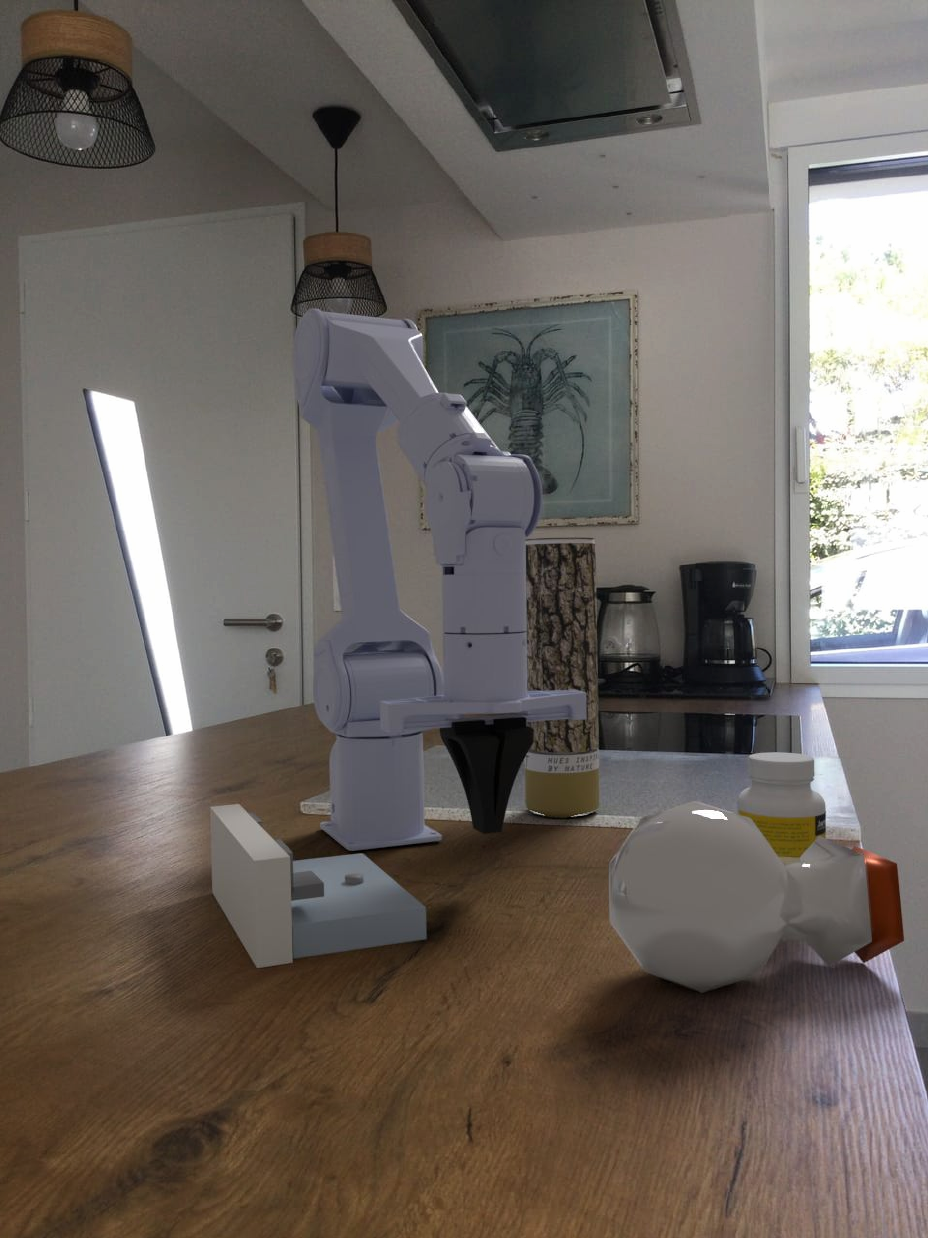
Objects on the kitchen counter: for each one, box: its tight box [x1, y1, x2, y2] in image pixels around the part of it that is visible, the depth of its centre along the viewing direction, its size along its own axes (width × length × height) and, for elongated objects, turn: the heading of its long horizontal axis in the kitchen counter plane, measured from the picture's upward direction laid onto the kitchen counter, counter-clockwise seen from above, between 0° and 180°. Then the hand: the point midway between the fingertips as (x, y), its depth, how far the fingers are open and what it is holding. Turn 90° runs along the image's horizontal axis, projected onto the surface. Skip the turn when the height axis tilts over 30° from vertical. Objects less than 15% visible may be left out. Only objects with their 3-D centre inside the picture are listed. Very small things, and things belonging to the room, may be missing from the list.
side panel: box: [209, 803, 324, 969], centre depth 67 cm, size 16×4×6 cm, turn 22°
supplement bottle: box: [736, 751, 827, 858], centre depth 67 cm, size 5×5×10 cm
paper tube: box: [524, 537, 600, 819], centre depth 97 cm, size 7×7×25 cm
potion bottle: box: [608, 800, 905, 994], centre depth 56 cm, size 9×10×15 cm
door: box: [291, 852, 428, 959], centre depth 68 cm, size 14×8×3 cm, turn 21°
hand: (487, 830), depth 72 cm, fingers closed
